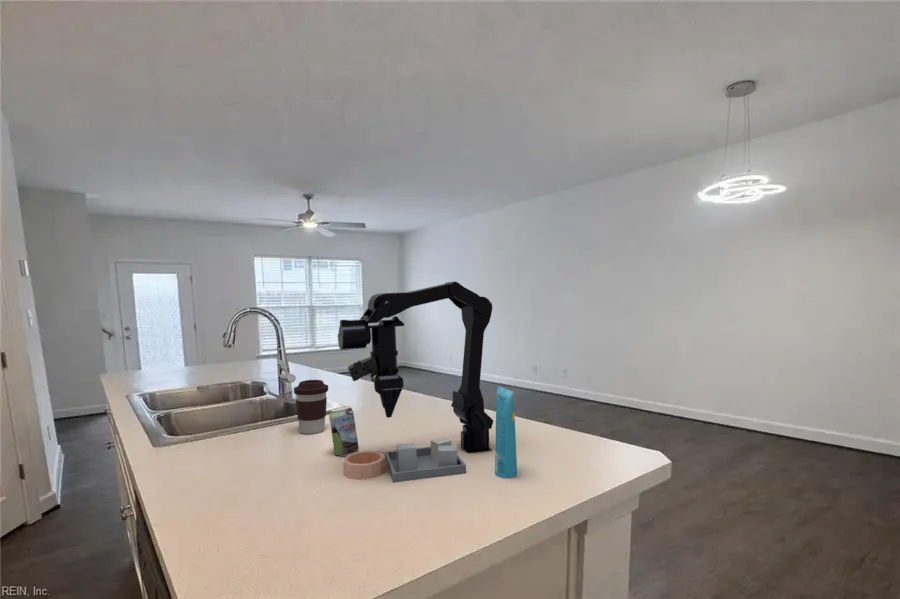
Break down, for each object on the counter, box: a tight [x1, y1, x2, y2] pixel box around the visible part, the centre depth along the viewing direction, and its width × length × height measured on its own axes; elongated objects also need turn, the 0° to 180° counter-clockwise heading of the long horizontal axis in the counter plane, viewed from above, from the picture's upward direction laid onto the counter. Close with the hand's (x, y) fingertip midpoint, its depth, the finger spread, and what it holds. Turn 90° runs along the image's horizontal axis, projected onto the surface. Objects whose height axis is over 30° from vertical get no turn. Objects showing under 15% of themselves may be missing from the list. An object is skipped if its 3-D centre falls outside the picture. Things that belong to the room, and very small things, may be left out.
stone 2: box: [430, 436, 452, 462], centre depth 106 cm, size 4×3×4 cm
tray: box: [384, 446, 467, 483], centre depth 102 cm, size 16×14×2 cm
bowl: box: [343, 450, 386, 481], centre depth 100 cm, size 9×9×4 cm
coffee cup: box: [293, 379, 329, 435], centre depth 133 cm, size 10×10×15 cm
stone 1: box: [396, 442, 417, 472], centre depth 101 cm, size 4×4×5 cm
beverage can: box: [329, 405, 359, 457], centre depth 112 cm, size 6×7×12 cm
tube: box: [494, 385, 518, 479], centre depth 97 cm, size 7×5×19 cm, turn 26°
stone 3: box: [438, 444, 458, 467], centre depth 100 cm, size 4×4×5 cm
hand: (386, 412), depth 104 cm, fingers open, 9 cm apart
